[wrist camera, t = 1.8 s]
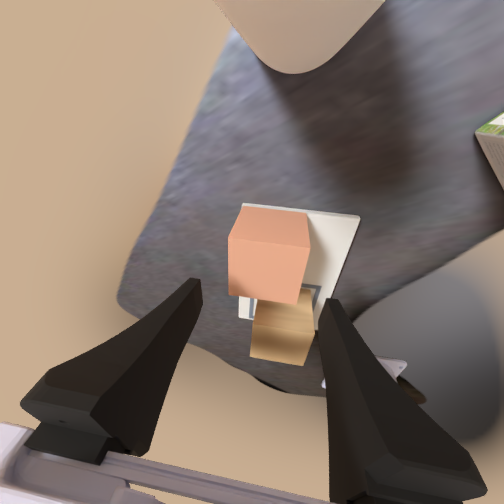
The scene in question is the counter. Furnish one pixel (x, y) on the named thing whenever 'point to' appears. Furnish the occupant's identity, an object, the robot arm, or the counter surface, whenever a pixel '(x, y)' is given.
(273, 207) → the mat
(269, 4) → the can
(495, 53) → the counter surface
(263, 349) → the oak block
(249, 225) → the terracotta block
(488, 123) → the syrup box
